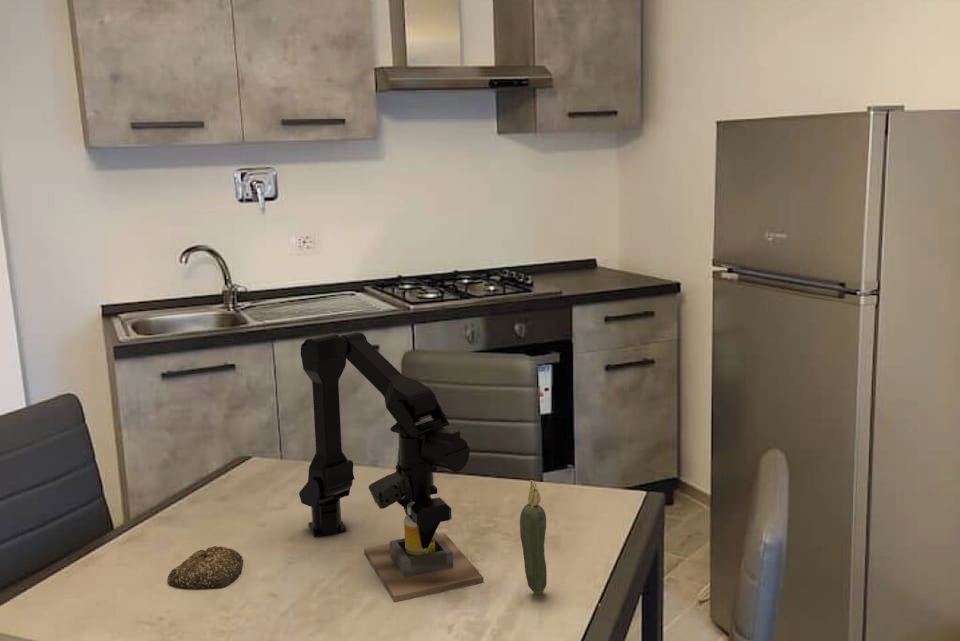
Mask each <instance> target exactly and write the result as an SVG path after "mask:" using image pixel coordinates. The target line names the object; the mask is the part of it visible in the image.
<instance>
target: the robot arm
mask: <svg viewBox="0 0 960 641" xmlns="http://www.w3.org/2000/svg"><path fill="white" fill-rule="evenodd" d="M300 357H301V363H302V369H303V371H304V372H305V374H306V375H307V377H308V378H309V380H310V381H311V383H312V385H311V386H312V399H313V420H314V436H315V437H314V439H315V440H314V441H315V454H314V456H313V458H312V461H311V462H310V465H309V467H308V475H307V477H308V479H307V482H306V483H305V484H304V486H303V487H302V488H301V489H300V491H299V492H298V495H299V500H300V502H301V504H303V505H305V506H308V507H311V522H308V524H307V526H308V528H309V530H310V531H311V533H312V535H313V537H315V538H318V537H321V536H328V535H332V534H333V535H334V534H338V533H345V532H346V531H347V527H346V525H345V524H344V522H343V520H342V509H341V499H342V498H344V497H345V498H346V497H348V496H350V492H351V488H352V486H353V481H354V480H355V475H354V462H353V460H351V459H348V457H347V456H346V455H345V453H344V452H343V451H342V450H343V449H342V447H343V446H342V429H341V428H342V426H341V425H342V424H341V408H340V407H341V406H340V404H341V403H340V386H339V383H340V382H339V380H340V378H341V377H342V374H343V373H344V370H345V369H346V366H347V365H346V364H347V361H348V362H350V364H351V365H352V366H353V367H354V368H355V369H356V370H357V371H358V372H359V373H360V374H361V375H362V376H363V377H364V378H366V379H367V381H369V383H370V384H372V385H373V386H374V388H375V389H376V390H377V391H378V392H380V394H381V395H382V397H384V403H385V409H386V410H387V411H388V412H389V414H390V415H391V416H392V418H394V420H395V422H396V423H395V424H393V425H392V426H391V427H390V432H392V433H395V434H398V437H399V457H400V458H399V461H398V462H397V463H396V465H395V472H393V473H391V474H387V475H385V476H383V477H382V478H379V479H378V480H376V481H374V482H372V483H371V484H369V485H368V490H369V492H370V494H371V496H372V498H373V501H374V502H375V504H376V505H377V506H378V508H379V509H381V510H384V509H386V508H388V507H389V506H391V505H393V504H395V503H397V504H398V505H399V506H402V507H403V510H404V513H405V516H406V515H407V514H408V512H407V505H408V504H409V503H410V502H412V503H413V505H412V506H411V515H408V516H409V517H410V519H411V520H412V521H413V522H414V523H416V524H417V528H418V533H419V538H420V542H421V546H422V548H423V549H425V548H428V547H429V545H430V542H431V540H432V538H433V536H434V534H435V532H436V531H437V530H438V528H439V525H440V523H442V522H447V521H450V520H452V507H451V506H450V505H449V504H448V503H447V502H446V501H445V500H444V499H442V497H433V498H432V497H431V495H433V496H434V495H438V494H439V492H438V487H437V486H436V485H435V484H434V482H435V480H434V473H436V472H437V468H440V469H443V470H447V471H451V472H453V473H458V472H460V471H462V470H464V468H465V467H466V465H467V464H468V461H469V458H470V447H469V445H468V443H467V441H466V440H465V439H464V438H462V437H461V432H460V431H459V430H455V429H453V430H451V429H447V427H449V426H450V423H449V420H448V419H447V415H446V414H445V413H444V411H443V409H442V408H441V405H440V404H439V401H438V400H437V396H436V395H435V393H434V392H433V390H432V389H431V388H430V387H428V386H426V385H425V384H424V383H422V382H421V381H419V380H417V379H413V378H410V377H407V376H405V374H402V373H401V372H400V371H399V370H398V369H397V368H396V367H395V366H394V365H392V363H391V362H390V361H389V360H388V359H386V358H385V357H384V356H383V354H381V352H379V351H378V350H377V349H376V348H375V347H374V346H373V344H371V343H370V342H369V341H368V338H367V336H366V335H365V334H364V333H362V332H360V331H354V332H349V333H345V334H341V335H339V334H337V333H329V334H325V335H320V336H314V337H311V338H307V339H306V340H304V342H303V343H302V344H301V346H300ZM430 418H431V420H429V421H426V422H423V421H425V420H428V419H430ZM420 422H423V423H420ZM418 423H419V424H418Z"/></svg>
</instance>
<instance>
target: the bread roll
mask: <svg viewBox="0 0 960 641" xmlns="http://www.w3.org/2000/svg"><path fill="white" fill-rule="evenodd" d="M243 565H244V559H243V556H242V555H241V554H240V553H239V552H238V551H237V550H235V549H233V548H230V547H229V548H228V547H226V546H217V545H214V546H212V547H211V546H210V547H207V548H206V549H205V550H204V549H200V550H197V551H195V552H194V553H193V554H191V555H190V556H189V557H188V558H186V559H185V560H184V561H182V563H181V564H180V565H178V566H176V567H174V568H173V569H171V571H170V573H169V574H168V575H167V582H168V584H169V585H171V586H175V587H178V586H179V587H180V588H186V589H187V588H188V589H219V588H220V587H221V588H224V587H226V586H228V585H230V584H231V583H233V582H234V581H236V580H237V578H238V577H239V575H241V573H242V570H243ZM236 577H237V578H236ZM235 579H236V580H235Z"/></svg>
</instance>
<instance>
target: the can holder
mask: <svg viewBox="0 0 960 641" xmlns="http://www.w3.org/2000/svg"><path fill="white" fill-rule="evenodd" d="M434 535H435V552H433V553H428V554H423V555H419V556H414V557H409V558H408V556H407V555H406V552H405V537H404V538H400V539H393V540H390V541H389V542H388V543H384V544H380V545H379V544H378V545H374V546H368V547H365V548H363V551H364V552H363V553H364V555H365V556H366V558H367V560H368V561H369V563H370V565H371V566H372V568H373V569H374V571H375V573H376V574H377V576H378V577H379V579H380V581H381V583H382V584H383V586H384V587H385V589H386V590H387V592H388V594H389V595H390V597H391V599H392V600H393V601H394V603H395V602H399V601H400V602H401V601H404V600H409V599H414V598H418V597H422V596H427V595H432V594H437V593H441V592H446V591H450V590H455V589H459V588H463V587H467V586H472V585H478V584H483V583H484V576H483V575H482V574H481V573H480V571H479V570H478V569H477V568H476V567H475V565H474V564H473V563H472V562H471V560H469V559H468V557H466V555H465V554H464V553H463V552H462V551H461V550H460V549H459V547H458V546H457V545H456V544H455V543H454V541H453V540H452V539H450V537H449V536H448V534H446V532H439V533H438V532H436V531H435V534H434Z"/></svg>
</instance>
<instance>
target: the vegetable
mask: <svg viewBox="0 0 960 641" xmlns="http://www.w3.org/2000/svg"><path fill="white" fill-rule="evenodd" d="M529 481H530V487H529V492H528V496H527V500H528V503H527V504H526V505H525V506H524V507H523V509H522V510H521V512H520V517H519V533H520V536H519V537H520V542H521V546H522V552H523V554H522V555H523V561H524V562H523V563H524V572H525V577H526V581H527V586H528V588H529V589H530V590H531V592H533V593H534V594H535V595H536V596H537V595H538V594H543V593H544V591H545V589H546V588H547V579H548V578H547V577H548V574H547V563H546V556H545V540H546V531H547V530H546V529H547V514H546V512H545V510H544V508H543V507H542V506H541V505H540V503H541V494H540V492H539V488H538V486H537V483H536V482H535V481H534V480H532V479H530V480H529Z"/></svg>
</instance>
